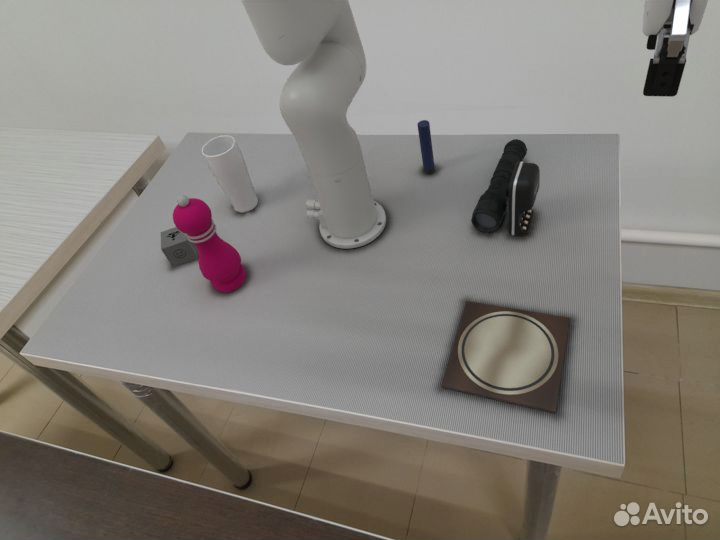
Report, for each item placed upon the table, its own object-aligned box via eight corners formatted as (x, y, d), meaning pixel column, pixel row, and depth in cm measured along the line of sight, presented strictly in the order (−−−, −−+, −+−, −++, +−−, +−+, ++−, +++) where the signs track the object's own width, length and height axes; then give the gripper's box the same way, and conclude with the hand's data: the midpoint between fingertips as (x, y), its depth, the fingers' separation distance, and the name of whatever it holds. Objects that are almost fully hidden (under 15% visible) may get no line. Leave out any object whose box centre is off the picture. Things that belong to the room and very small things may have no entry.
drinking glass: (225, 214, 108) (193, 155, 97) (241, 192, 112) (213, 133, 101) (252, 218, 105) (223, 158, 94) (268, 195, 109) (242, 135, 98)
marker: (422, 173, 104) (415, 126, 96) (425, 166, 105) (419, 119, 97) (433, 174, 103) (427, 127, 95) (436, 167, 104) (430, 120, 96)
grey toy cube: (196, 241, 104) (185, 223, 100) (198, 258, 101) (186, 240, 97) (172, 249, 104) (160, 232, 100) (173, 267, 100) (161, 249, 97)
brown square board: (441, 387, 73) (441, 384, 72) (466, 302, 81) (466, 299, 81) (555, 413, 67) (556, 411, 66) (569, 320, 76) (570, 316, 75)
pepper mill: (207, 275, 97) (155, 193, 82) (243, 258, 98) (198, 175, 83) (215, 301, 92) (161, 219, 77) (253, 284, 93) (207, 200, 78)
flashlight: (470, 231, 91) (469, 210, 87) (503, 157, 102) (503, 136, 98) (499, 236, 89) (499, 214, 85) (529, 160, 100) (530, 138, 96)
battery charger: (530, 239, 87) (533, 187, 79) (507, 236, 88) (508, 184, 80) (538, 211, 91) (542, 158, 82) (516, 208, 92) (517, 156, 84)
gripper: (658, -135, 52) (627, 33, 65) (652, -69, 42) (618, 114, 55) (747, -146, 49) (697, 32, 62) (764, -79, 40) (700, 116, 52)
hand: (660, 70), depth 59 cm, fingers open, 9 cm apart
